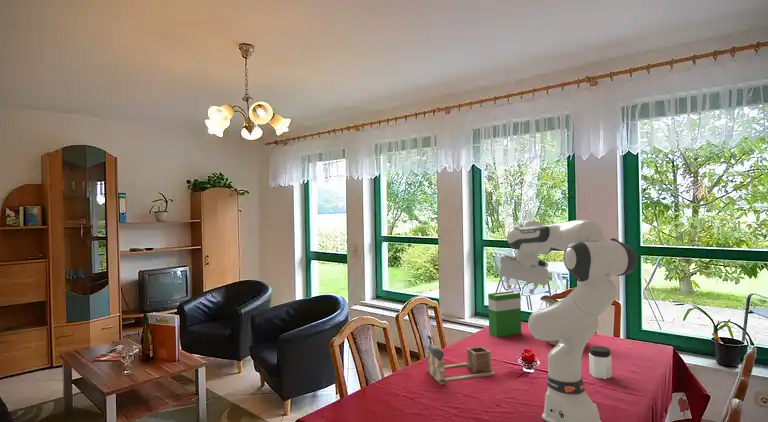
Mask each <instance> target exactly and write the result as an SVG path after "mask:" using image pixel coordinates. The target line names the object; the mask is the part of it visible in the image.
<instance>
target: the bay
mask: <svg viewBox="0 0 768 422" xmlns="http://www.w3.org/2000/svg"><path fill="white" fill-rule="evenodd" d="M426 337H427V339H428V340H429V344H428V345H427V371H428V373H429V374H430V375H431V377H433V378H434V380H436V382H438V383H439V385H447V384H448V383H447V382H449V381H457V380H465V379H472V378H480V377H481V378H482V377H488V376H494V375H495V376H496V372H495V371H491V372H483V373H473V374H466V375H459V376H451V377H445V369H447V368H449V369H450V368H457V367H465V366H466V367H467V362H463V363H453V364H446V365H445V360H444V359H443V358H444V355H445V354H444V352H443V351H442V350H441V349H440V348H439V347H437V346H436V345H435V344H434V343H433V342H432V341H433V340H432V336H431V335H427V336H426Z"/></svg>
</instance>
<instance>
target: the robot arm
mask: <svg viewBox="0 0 768 422" xmlns="http://www.w3.org/2000/svg"><path fill="white" fill-rule="evenodd" d="M604 235H605V234H604V230H603V227H602V226H601V225H600V224H599V223H598V222H596V221H594V220H588V219H576V220H570V221H565V222H564V221H563V222H559V223H553V224H547V225H546V224H545V225H543V224H542V223H541V222H539V221H534V220H533V221H532V220H528V221H527V220H526V221H525V222H523V225H521V224H518V223H517V224H515V225H513V226H512V227H511V228H509V230H508V231H507V234H506V241H507V243H508V245H509V247H510V248H511V249H513V250H516V253H515V256H512V255H508V254H505V255H502V256H501V257H500V259H499V263H500V266H499V268H498V272H497V273H498V275H499V277H504V278H505V282H506V284H507V285H506V289H508V290H511V289H512V284H510V280H511V279H513V280H518V281H522V282H527V283H532V284H533V285H532V286H533V287H532V289H531V288H529V291H528V292H529V294H531V295H534V293H535V290H536V289H537V288H538V287H539V285H540V286H547V285H548V283H549V270H548V267H549V263H548V262H547V261H546V260H543V259H541V258H539V254H540V255H548V254H549V253H551V252H552V251H553V250H554V249H555V250H560V251H563V252H564V253H563V263H564V266H565V268H566V270H567V271H568V273H570V274H571V275H572V277H573V278H574V280H576V281H578V282H579V284H578V285H577V286H576V287H575V288H574V289H573V290H572V291H571V292H570V293H569V294H568V295H566V296H565V297H563V298H562V299H560V300H558V302H556V303H554V304H552V305H550V306H549V305H548V306H547V307H545V308H543V309H539V310H537V311H534V312H532V313H531V314H530V315H529V317H528V321H527V322H528V323H527V325H528V330H529V333H530V334H531V335H532V337H534V338H535V339H536V340H540V341H541V340H542V341H543V340H544V341H548V340H549V341H551V340H560V341H559V343H558V344H557V346H556V345H555V346H554V347H553V348H551V350H550V351H549V352H548V355H547V368H548V369H547V370H548V371H547V372H548V373H547V376H546V383H547V386H548V387H547V390H546V393H545V396H544V408H543V409H544V410H543V413H542V414H541V419H543V420H544V421H546V422H602V420H601V418H600V413H599V412H600V411H599V410H598V406H597V403H594V402H593V400H592V399H591V398H590V397H589V395H588V394H587V393H586V389H587V387H586V386H587V384H584V383H585V382H584V380H583V377H582V358H583V353H584V350H585V347H586V345H587V343H588V342H589V340H590V339H591V338H592V337H593V336H594V335H595V334H596V333H597V332H598V331H599V327H600V326H599V325H600V324H599V322H600V321H599V318H598V317H600V316H601V315H603V314H604V313H605V312H606V311H607V310H608V309H609V308H610V307H611V305H613V302H614V301H615V300H616V298H617V296H618V287H617V285H616V284H615V282H614V281H613V280H612V279H611V277H614V276H617V277H622V276H625V275H629V274H631V273H632V272H633V271H634V270H635V268H636V265H637V260H638V259H637V255H636V252H635V251H634V249H633V248H632V247H631V246H630V245H628V244H627V243H624V242H622V241H620V240H618V239H617V238H615V237H612V238H611V239H608V238H606V237H605V236H604Z"/></svg>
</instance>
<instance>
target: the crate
mask: <svg viewBox="0 0 768 422" xmlns="http://www.w3.org/2000/svg"><path fill="white" fill-rule="evenodd" d="M491 355H492V354H491V351H490V350H488V349H487V348H485V347H484V346H476V347H467V348H466V358H467V359H466V360H467V361H466V363H467V366H466V367H467V368H468V370H470V371H471V372H472V373H473V374H481V373H489V372H492V362H491V361H492V360H491V359H492V358H491V357H492V356H491Z"/></svg>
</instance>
